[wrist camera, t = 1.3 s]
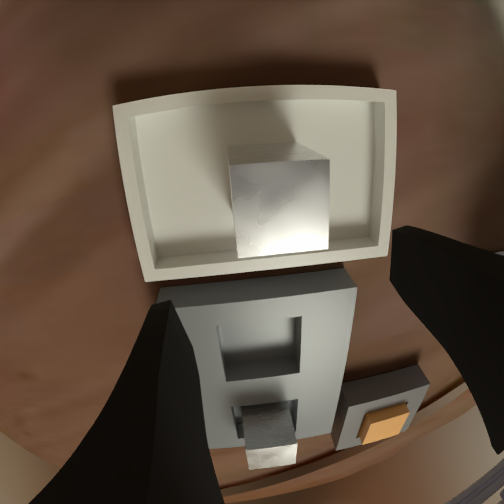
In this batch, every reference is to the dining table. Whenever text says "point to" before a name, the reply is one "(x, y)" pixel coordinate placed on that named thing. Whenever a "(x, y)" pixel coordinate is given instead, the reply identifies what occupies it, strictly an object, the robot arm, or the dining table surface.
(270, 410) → the block
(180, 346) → the robot arm
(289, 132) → the tray
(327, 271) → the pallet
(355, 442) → the button housing
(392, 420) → the button
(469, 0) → the dining table surface
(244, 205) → the steel block
